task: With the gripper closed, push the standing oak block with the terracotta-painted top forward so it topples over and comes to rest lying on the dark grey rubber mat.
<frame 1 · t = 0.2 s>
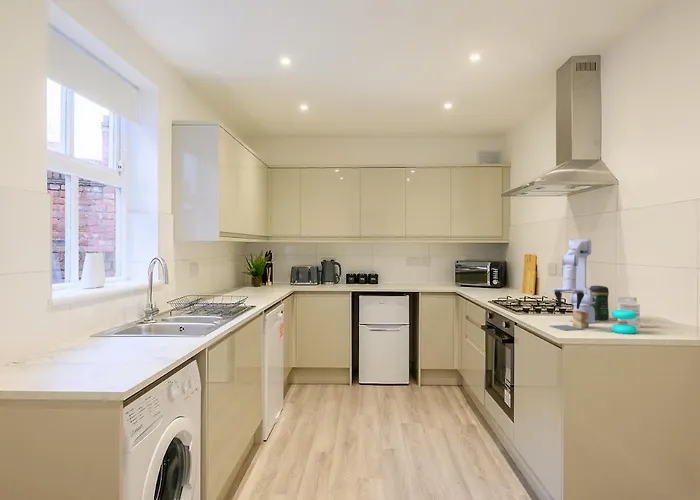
hand: (568, 308, 208), 11 cm above the countertop, tool pointing down, fingers open, 7 cm apart
coffee jar: (599, 319, 241), on the countertop
oak block: (580, 327, 216), on the countertop
donuts: (624, 332, 203), on the countertop
rubber mat: (566, 328, 215), on the countertop
ink cartridge box: (628, 327, 217), on the countertop
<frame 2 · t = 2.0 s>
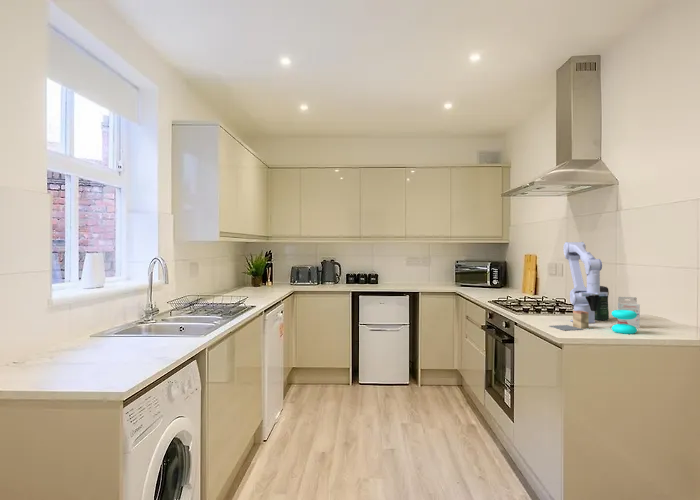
hand: (593, 310, 217), 8 cm above the countertop, tool pointing down, fingers closed
nothing on the countertop moved.
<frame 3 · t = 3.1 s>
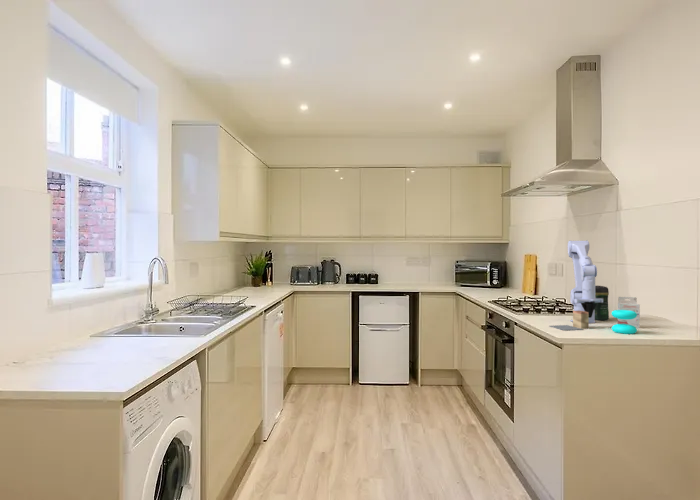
hand: (588, 317, 217), 5 cm above the countertop, tool pointing down, fingers closed
nothing on the countertop moved.
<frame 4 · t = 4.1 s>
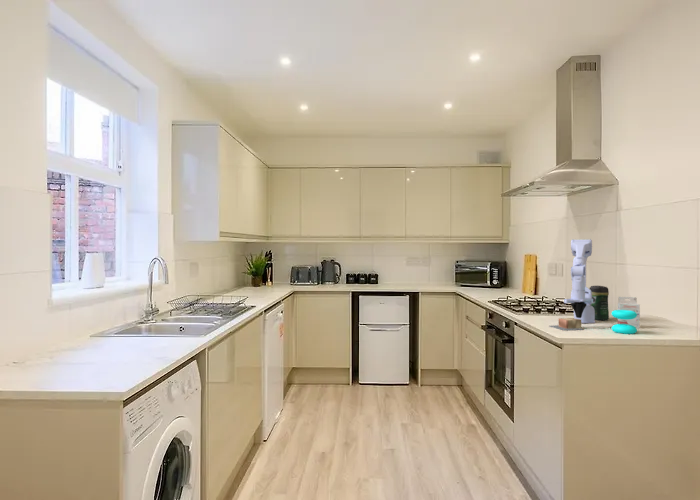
hand: (578, 317, 216), 5 cm above the countertop, tool pointing down, fingers closed
oak block: (577, 322, 216), point 2 cm above the countertop, tilted 90°, touching rubber mat
everything else where it was.
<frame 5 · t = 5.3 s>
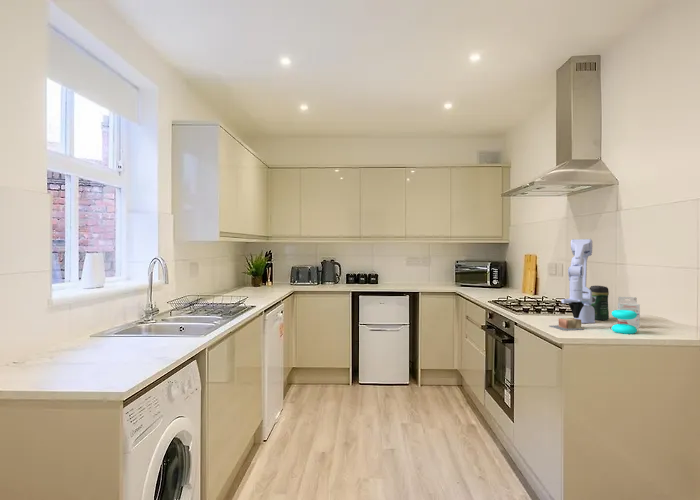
hand: (576, 317, 216), 5 cm above the countertop, tool pointing down, fingers closed
nothing on the countertop moved.
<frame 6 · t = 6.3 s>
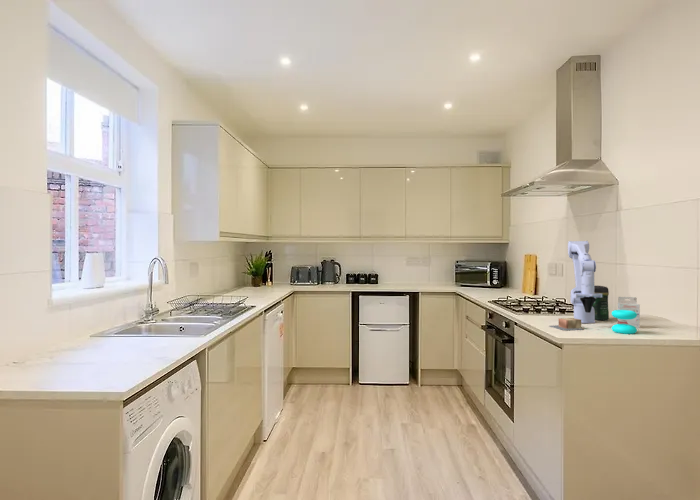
hand: (587, 312, 217), 7 cm above the countertop, tool pointing down, fingers closed
nothing on the countertop moved.
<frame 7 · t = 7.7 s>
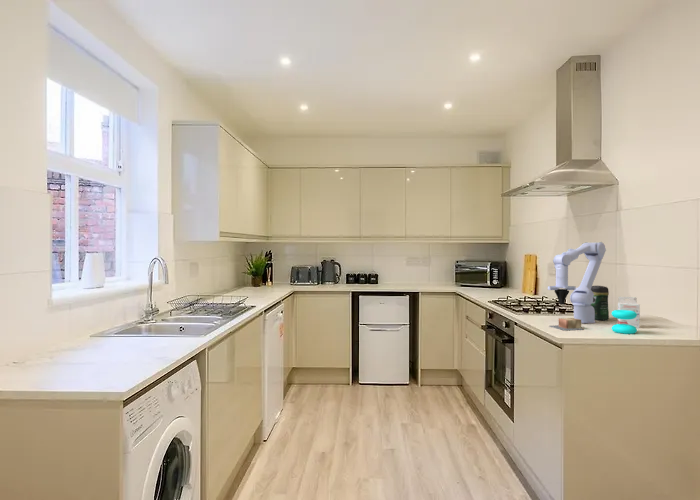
hand: (561, 304, 225), 10 cm above the countertop, tool pointing down, fingers closed
nothing on the countertop moved.
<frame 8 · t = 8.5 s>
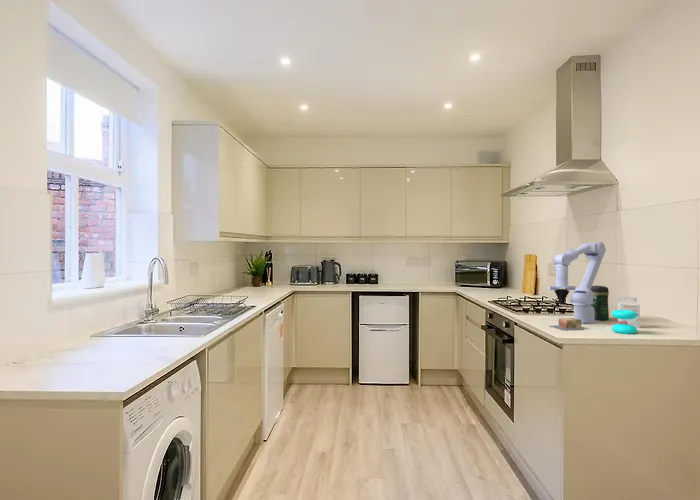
hand: (561, 304, 225), 10 cm above the countertop, tool pointing down, fingers closed
nothing on the countertop moved.
at the end: oak block tilted 90°; oak block inside the target area (4.1 cm from its centre), point 2.3 cm above the countertop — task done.
